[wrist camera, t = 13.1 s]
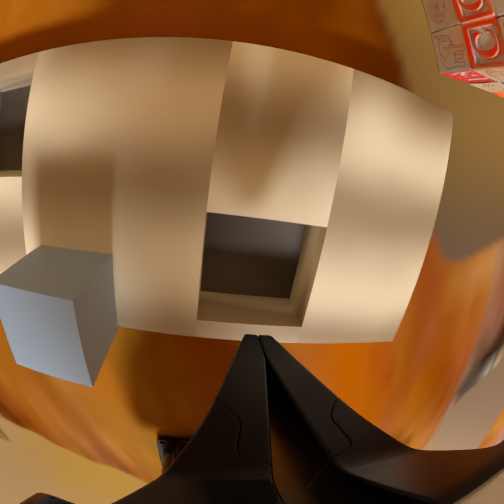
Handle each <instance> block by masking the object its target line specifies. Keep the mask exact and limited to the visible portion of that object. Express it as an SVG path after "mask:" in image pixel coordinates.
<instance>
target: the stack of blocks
mask: <svg viewBox="0 0 504 504" xmlns="http://www.w3.org/2000/svg"><path fill="white" fill-rule="evenodd" d="M422 4H423V7H424V10H425V14H426V17H427V20H428V24H429V28H430V31H431V37H432V41H433V45H434V49H435V54H436V59H437V64H438V69H439V73H440V75H443V76H447V77H451V78H454V79H457V80H461V81H464V82H468V83H469V84H470V85H472V86H476V87H478V88H481V89H484V90H486V91H489V92H492V93H494V94H496V95H499V96H501V97H503V98H504V0H422Z"/></svg>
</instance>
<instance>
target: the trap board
mask: <svg viewBox="0 0 504 504" xmlns="http://www.w3.org/2000/svg"><path fill="white" fill-rule="evenodd" d="M452 125H453V113H451V112H449V111H447V110H445V109H443V108H442V107H440V106H438V105H436V104H434V103H432V102H430V101H429V100H427V99H424V98H423V97H421V96H418V95H416V94H414V93H412V92H410V91H408V90H406V89H404V88H401V87H399V86H397V85H394V84H392V83H390V82H387V81H385V80H382V79H380V78H377V77H375V76H372V75H370V74H367V73H364V72H361V71H359V70H356V69H353V68H350V67H347V66H344V65H341V64H337V63H334V62H331V61H327V60H324V59H320V58H317V57H313V56H309V55H305V54H301V53H297V52H293V51H288V50H284V49H279V48H274V47H268V46H263V45H257V44H251V43H244V42H236V41H228V40H218V39H207V38H191V37H138V38H122V39H111V40H101V41H93V42H86V43H80V44H74V45H68V46H63V47H58V48H54V49H49V50H45V51H41V52H37V53H33V54H29V55H26V56H22V57H19V58H16V59H12V60H9V61H6V62H3V63H0V274H1V273H3V272H4V271H5V270H7V269H8V268H9V267H11V266H12V265H13V264H15V263H16V262H17V261H19V260H20V259H21V258H23V257H24V256H26V255H27V254H28V253H30V252H31V251H33V250H34V249H36V248H37V247H38V246H40V245H45V246H52V247H60V248H67V249H75V250H83V251H90V252H98V253H106V254H113V276H114V292H115V305H116V315H117V325H118V327H124V328H130V329H137V330H144V331H151V332H158V333H166V334H174V335H183V336H192V337H203V338H214V339H226V340H240V341H242V339H243V337H244V335H245V334H253V335H257V336H259V335H270V336H272V337H273V338H274V339H275V340H276V341H277V342H281V343H362V342H385V341H393V338H394V336H395V334H396V332H397V330H398V327H399V325H400V323H401V320H402V318H403V315H404V313H405V311H406V308H407V306H408V303H409V301H410V298H411V295H412V293H413V290H414V287H415V285H416V282H417V279H418V276H419V273H420V270H421V267H422V264H423V261H424V258H425V255H426V252H427V249H428V245H429V242H430V238H431V235H432V231H433V228H434V224H435V220H436V216H437V212H438V208H439V203H440V199H441V194H442V189H443V185H444V179H445V174H446V169H447V162H448V156H449V150H450V142H451V134H452Z"/></svg>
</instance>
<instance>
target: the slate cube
mask: <svg viewBox="0 0 504 504" xmlns="http://www.w3.org/2000/svg"><path fill="white" fill-rule="evenodd" d="M0 318H1V321H2V324H3V327H4V330H5V333H6V336H7V339H8V342H9V345H10V347H11V350H12V353H13V355H14V358H15V360H16V363H17V364H19V365H22V366H24V367H27V368H30V369H33V370H35V371H38V372H41V373H44V374H47V375H51V376H54V377H57V378H60V379H64V380H67V381H71V382H74V383H78V384H82V385H86V386H90V387H93V385H94V383H95V381H96V378H97V376H98V374H99V371H100V369H101V367H102V364H103V362H104V360H105V357H106V355H107V353H108V351H109V349H110V346H111V344H112V342H113V340H114V338H115V336H116V333H117V331H118V325H117V315H116V305H115V292H114V276H113V254H106V253H98V252H90V251H83V250H75V249H67V248H60V247H52V246H45V245H40V246H38V247H37V248H36V249H34V250H33V251H31V252H30V253H28V254H27V255H26V256H24V257H23V258H21V259H20V260H19V261H17V262H16V263H15V264H13V265H12V266H11V267H9V268H8V269H7V270H5V271H4V272H3V273H1V274H0Z"/></svg>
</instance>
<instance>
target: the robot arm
mask: <svg viewBox="0 0 504 504" xmlns="http://www.w3.org/2000/svg"><path fill="white" fill-rule="evenodd" d="M157 445H158V450H159V455H160V460H161V464H162V475H161V476H160V477H158V478H157V479H156V480H154V481H152V482H151V483H149V484H147V485H145V486H144V487H142V488H140V489H138V490H137V491H135V492H133V493H131V494H129V495H128V496H126V497H124V498H122V499H120V500H118V501H116V502H114V503H112V504H504V441H502V442H501V443H499V444H497V445H495V446H492V447H488V448H482V449H471V450H449V451H448V450H447V451H428V450H427V451H426V450H418V449H414V448H411V447H408V446H406V445H404V444H402V443H401V442H399V441H397V440H396V439H394V438H393V437H391V436H390V435H388V434H387V433H385V432H384V431H382V430H381V429H379V428H378V427H376V426H375V425H373V424H372V423H370V422H369V421H367V420H366V419H365V418H363V417H362V416H360V415H359V414H358V413H357V412H355V411H354V410H353V409H352V408H350V407H349V406H348V405H347V404H346V403H344V402H343V401H342V400H341V399H340V398H337V396H336V395H335V394H334V393H333V392H332V391H331V390H330V389H328V388H327V387H326V386H325V385H324V384H323V383H322V382H321V381H319V380H318V379H317V378H316V377H315V376H314V375H313V374H312V373H311V372H310V371H308V370H307V369H306V368H305V367H304V366H303V365H302V364H301V363H300V362H299V361H298V360H296V359H295V358H294V357H293V356H292V355H291V354H290V353H289V352H288V351H287V350H286V349H285V348H284V347H283V346H282V345H280V344H279V343H278V342H277V341H276V340H275V339H274V338H273V337H272V336H270V335H259V336H257V335H253V334H245V335H244V337H243V339H242V341H241V343H240V345H239V348H238V350H237V352H236V354H235V356H234V359H233V361H232V363H231V365H230V367H229V370H228V372H227V374H226V376H225V378H224V381H223V383H222V385H221V387H220V389H219V391H218V393H217V396H216V398H215V400H214V402H213V404H212V406H211V408H210V410H209V412H208V414H207V415H206V417H205V419H204V421H203V422H202V424H201V425H200V427H199V428H198V430H197V431H196V433H195V434H194V436H193V437H192V438H191V440H188V439H178V438H170V437H162V436H160V437H157ZM20 504H74V503H71V502H68V501H66V500H63V499H60V498H57V497H55V496H52V495H49V494H44V493H36V494H34V495H32V496H31V497H29V498H27V499H26V500H25V501H23V502H21V503H20Z"/></svg>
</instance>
